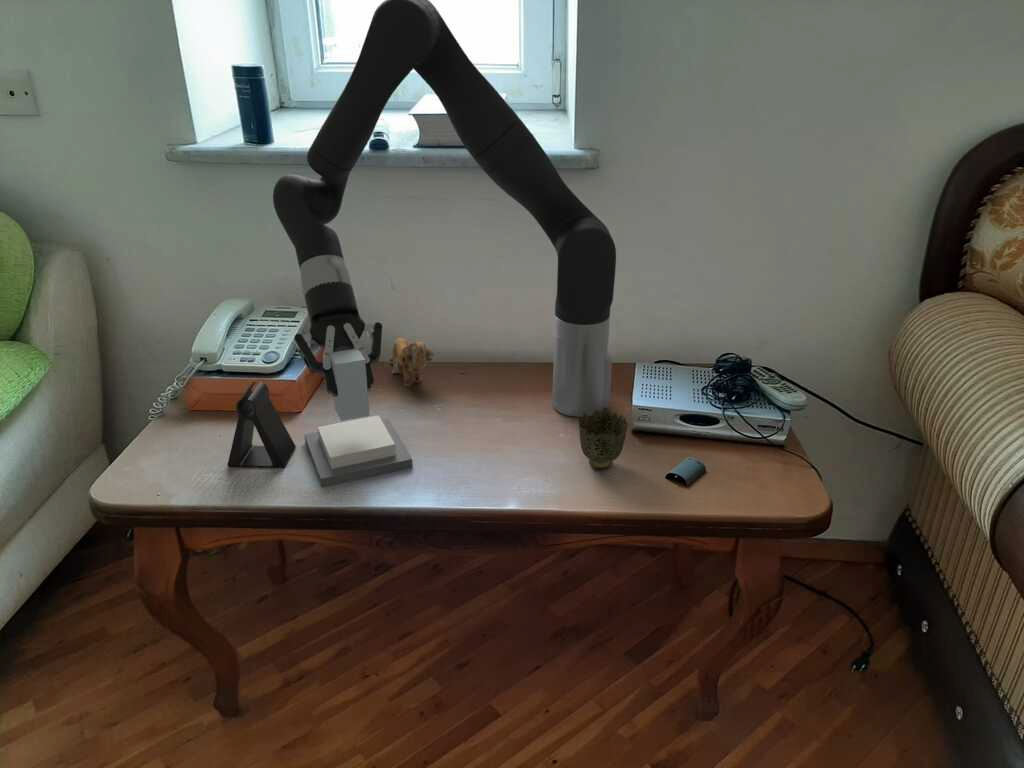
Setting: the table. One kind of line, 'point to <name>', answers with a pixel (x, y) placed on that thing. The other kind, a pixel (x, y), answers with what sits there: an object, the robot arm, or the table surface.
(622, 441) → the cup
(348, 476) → the display stand
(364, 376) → the blue-grey block
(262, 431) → the black phone stand
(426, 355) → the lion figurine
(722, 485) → the table surface
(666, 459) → the table surface
